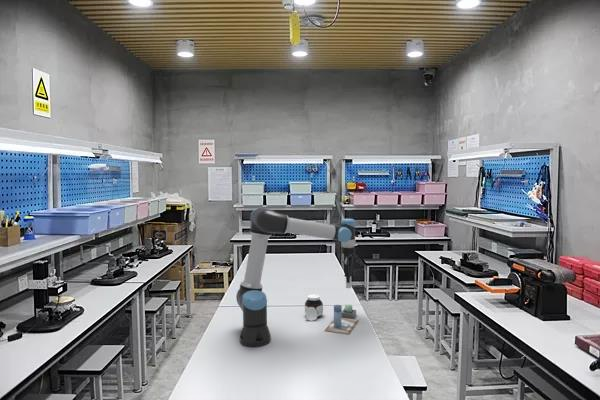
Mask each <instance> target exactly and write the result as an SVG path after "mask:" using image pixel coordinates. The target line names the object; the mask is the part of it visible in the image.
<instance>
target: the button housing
mask: <svg viewBox="0 0 600 400" xmlns="http://www.w3.org/2000/svg"><path fill="white" fill-rule="evenodd" d="M356 316H357V309H352V313H346V312H345V308H343V309H342V316H341V318H348V319H355V317H356Z"/></svg>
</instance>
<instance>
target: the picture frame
mask: <svg viewBox="0 0 600 400" xmlns="http://www.w3.org/2000/svg"><path fill="white" fill-rule="evenodd" d="M358 322H360V321H359V319H356V318H354V319H348V318H341V328H335V327H334V319H333V320H332V321H331V322H330V323H329V325H328V326H327V327H326V328H324V332H329V333H335V334H342V335H348V336H349V335H350V334H351V332H352V331H353V329H354V328H355V327H356V325H358Z"/></svg>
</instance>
